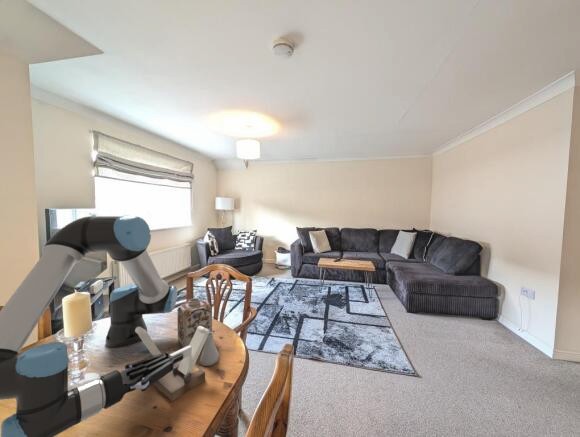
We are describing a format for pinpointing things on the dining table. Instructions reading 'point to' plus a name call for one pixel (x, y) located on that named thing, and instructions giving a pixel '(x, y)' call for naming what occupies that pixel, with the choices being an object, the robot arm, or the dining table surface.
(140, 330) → the switch
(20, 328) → the robot arm
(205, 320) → the decorative jar
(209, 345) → the flask
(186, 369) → the switch
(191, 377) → the switch panel
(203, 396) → the dining table surface
